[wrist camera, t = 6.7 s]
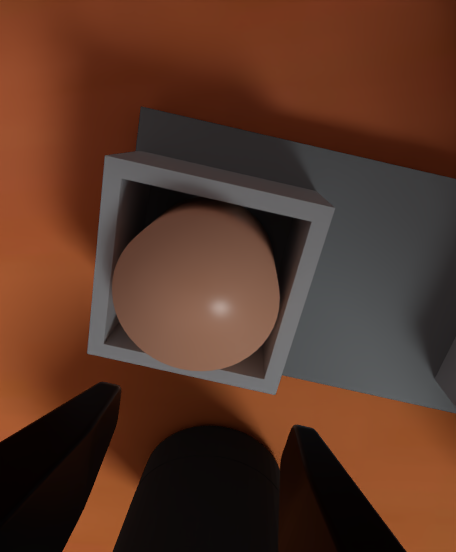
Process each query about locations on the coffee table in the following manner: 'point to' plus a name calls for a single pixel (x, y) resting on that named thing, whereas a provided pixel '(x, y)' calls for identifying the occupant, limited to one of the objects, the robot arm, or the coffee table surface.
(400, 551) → the robot arm
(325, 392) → the coffee table surface
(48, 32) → the coffee table surface
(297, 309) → the twin socket base plate
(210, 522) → the pen holder
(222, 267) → the terracotta button
